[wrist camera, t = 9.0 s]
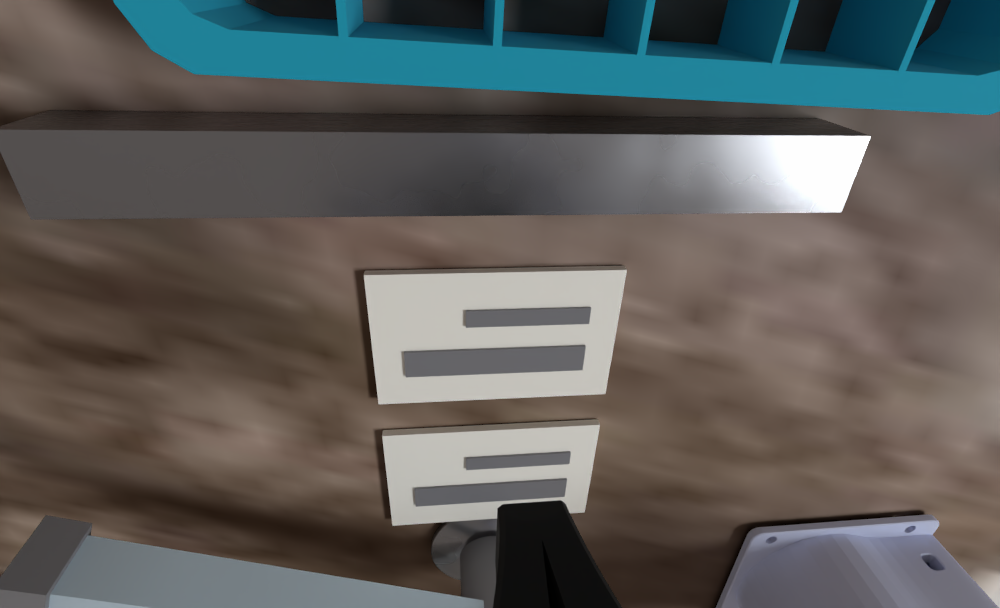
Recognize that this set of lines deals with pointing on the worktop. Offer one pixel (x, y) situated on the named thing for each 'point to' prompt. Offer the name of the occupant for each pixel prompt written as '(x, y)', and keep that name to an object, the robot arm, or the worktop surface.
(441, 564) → the pivot base
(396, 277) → the psu label
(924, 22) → the ice cube tray
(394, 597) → the bar
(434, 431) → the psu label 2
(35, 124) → the rail
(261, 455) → the worktop surface
